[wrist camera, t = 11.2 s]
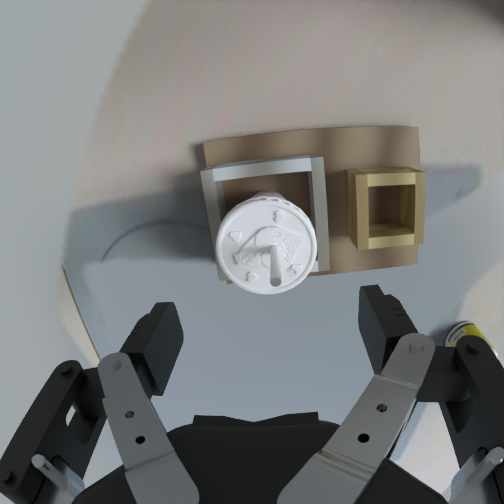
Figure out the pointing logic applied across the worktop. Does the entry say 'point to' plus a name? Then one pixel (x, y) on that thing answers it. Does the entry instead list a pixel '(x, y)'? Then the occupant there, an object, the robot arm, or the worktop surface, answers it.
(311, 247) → the smoothie
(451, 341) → the supplement bottle
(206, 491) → the robot arm
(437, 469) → the worktop surface
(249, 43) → the worktop surface
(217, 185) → the fitting board
